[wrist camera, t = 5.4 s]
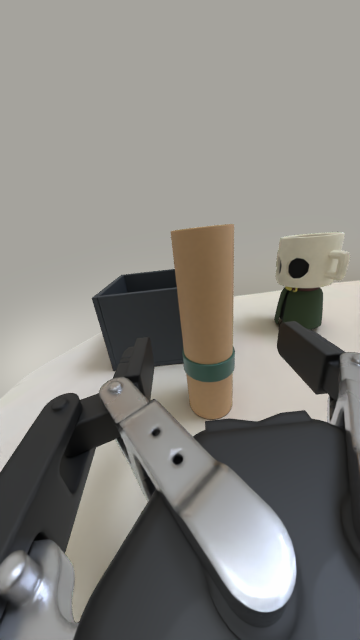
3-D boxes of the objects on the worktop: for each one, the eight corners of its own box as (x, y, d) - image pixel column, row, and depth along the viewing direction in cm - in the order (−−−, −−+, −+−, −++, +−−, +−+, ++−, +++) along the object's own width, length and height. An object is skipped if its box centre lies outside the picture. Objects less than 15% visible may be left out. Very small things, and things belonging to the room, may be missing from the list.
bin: (113, 370, 24) (91, 297, 20) (132, 326, 36) (120, 274, 32) (225, 358, 24) (224, 283, 20) (207, 317, 36) (204, 265, 32)
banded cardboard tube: (190, 423, 16) (167, 230, 10) (186, 387, 20) (168, 232, 14) (240, 418, 16) (247, 221, 10) (226, 382, 20) (226, 225, 14)
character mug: (255, 316, 34) (260, 238, 29) (289, 309, 36) (299, 233, 31) (306, 347, 25) (326, 237, 19) (350, 335, 26) (380, 230, 21)
